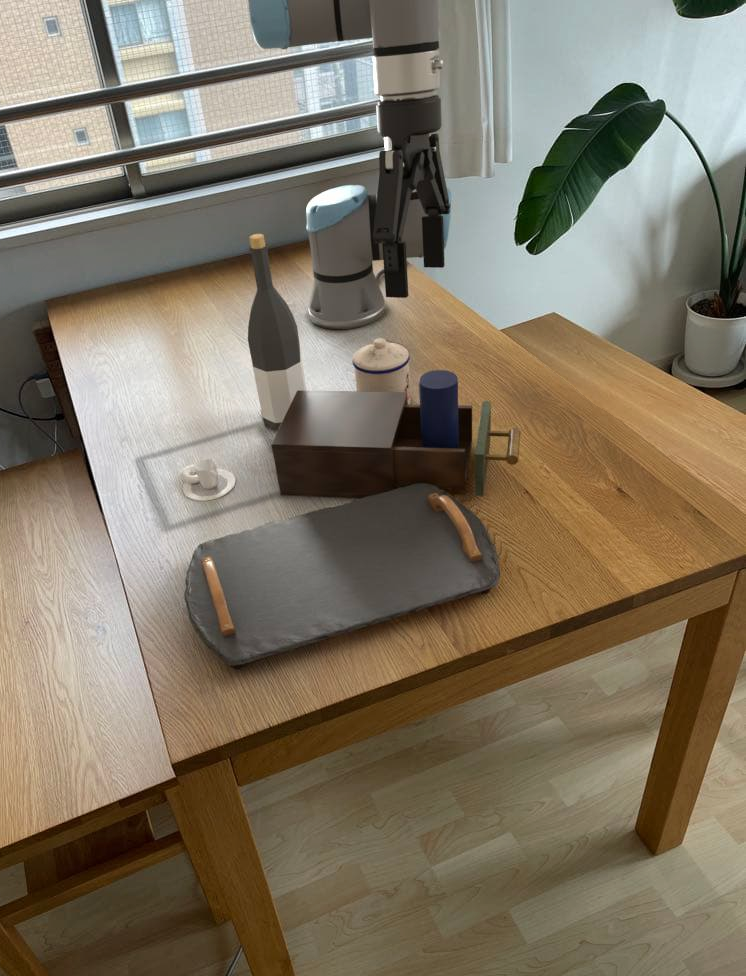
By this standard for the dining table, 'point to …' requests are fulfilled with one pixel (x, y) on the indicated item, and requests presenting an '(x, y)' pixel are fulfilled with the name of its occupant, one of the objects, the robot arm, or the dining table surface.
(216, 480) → the teacup and saucer
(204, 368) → the dining table surface
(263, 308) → the wine bottle
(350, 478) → the cabinet
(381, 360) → the teacup with lid
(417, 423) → the drawer
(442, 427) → the navy cylinder
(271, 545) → the serving tray
